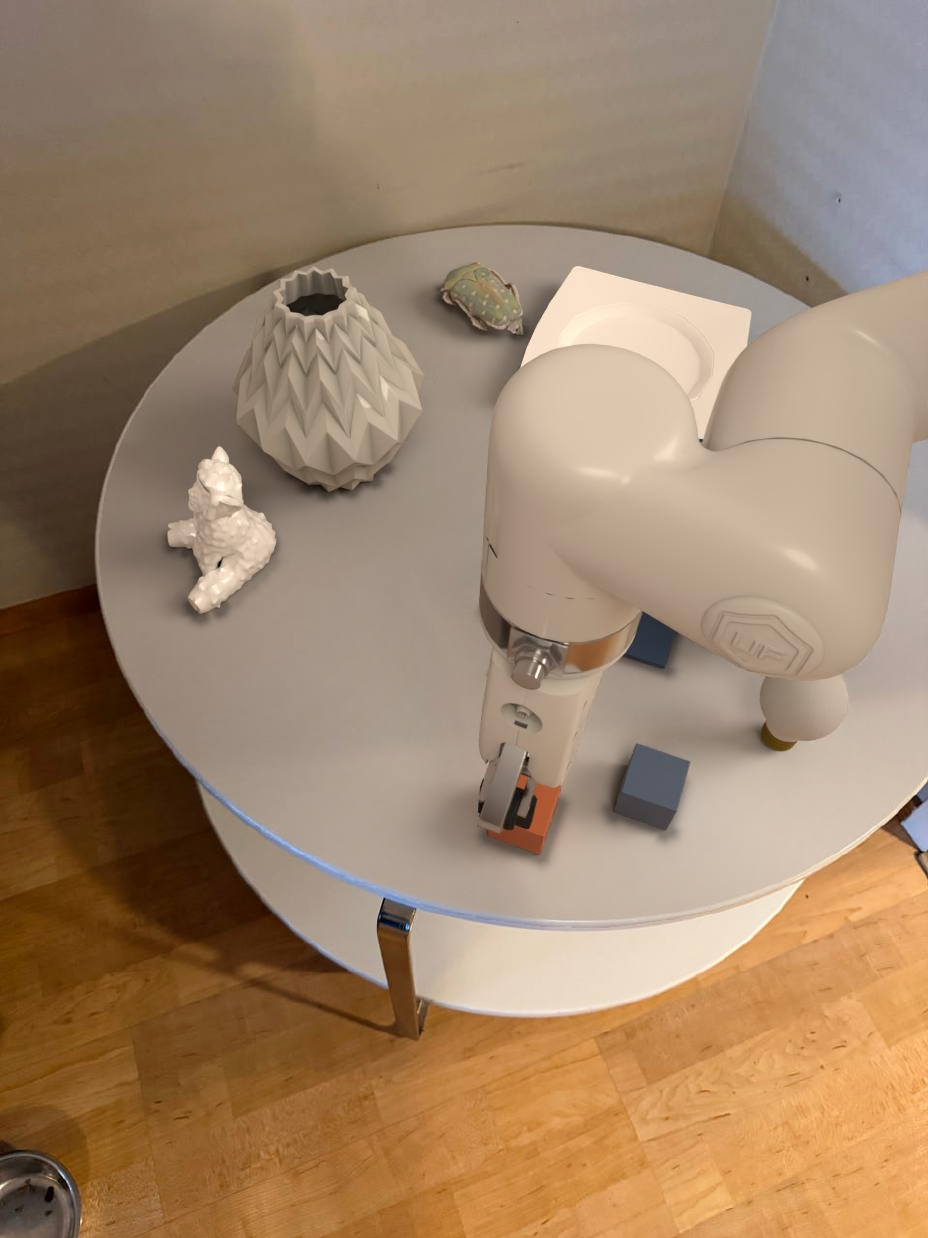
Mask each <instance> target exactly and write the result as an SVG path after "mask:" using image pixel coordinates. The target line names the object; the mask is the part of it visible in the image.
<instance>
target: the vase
mask: <svg viewBox="0 0 928 1238" xmlns="http://www.w3.org/2000/svg"><path fill="white" fill-rule="evenodd" d="M425 380H426V376H425V374H424V372H423V371H422V370H421V367H420V366H419V364H418V362H417V361H416V359H415V358H414V356H413V355H412V353H411V351H410V350H409V348H408V346H407V345H406V342H405V341H403V340H402V339H400V338H398V337H397V336H396V335H395V334H394V333H393V332H391V330H390V327H389V325H388V324H387V322H386V320H385V318H384V316H383V314H382V312H381V311H380V310H378V309H377V308H375V307H374V306H373V305H371V304H369V302H368V301H367V299H366V297H365V295H364V294H363V293H361V292H359V291H358V290H357V288H356V287H354V286H353V285H352V283H351V280H350V277H349V276H348V275H339V274H338V273H337V272H336V271H335V269H334V268H333V267H332V268H331V267H330V268H328V269H324V270H321V269H320V268H318V267H316V266H314V265H313V266H312V267H310V268H309V269H307V270H306V271H303V270H298V269H297V270H296V269H295V270H294V271H293V272H292V274H291V276H290V277H287V278H280V279H279V288H278V289H276V290H273V291H272V293H271V297H270V298H269V299H268V301H267V305H266V308H265V310H264V311H263V312H262V313H261V314H260V316H258V318H257V319H256V323H255V327H254V332H253V335H252V339H251V343H250V347H249V348H248V349H247V350H246V351H245V354H244V356H243V358H242V361H241V364H240V366H239V368H238V372H237V374H236V377H235V379H234V382H233V384H232V391H233V392H234V395H235V396H236V398H237V406H236V416H235V423H236V424H237V425H238V426H239V427H240V428H241V429H242V430H243V431H244V433H245V434H247V435H248V436H249V438H250V439H252V441H253V442H254V443H256V445H258V447H259V448H261V450H262V452H263V453H265V454H267V455H269V456H270V457H271V458H272V459H273V460H274V461H275V462H276V463H277V464H278V465H279V466H280V467H281V468H282V470H283V471H284V472H286V473H288V474H290V475H291V476H293V477H295V478H296V479H298V480H300V481H301V482H304V483H305V484H307V486H314V485H317V486H318V485H320V486H321V487H322V488H324V489H325V490H326V491H327V492H328V493H330V492H332V491H335V490H336V489H339V488H343V489H346V490H349V491H354V489H355V488H356V487H358V485H359V484H360V483H362V482H363V483H365V482H373V481H374V477H375V474H376V473H377V472H379V471H380V470H381V469H382V468H384V467H385V466H386V465H388V464H390V463H391V461H392V460H393V459H394V457H395V456H396V454H397V453H398V451H399V450H400V448H401V447H402V445H404V443H405V441H406V439H407V437H408V434H409V433H410V432H411V431H412V428H413V427H414V425H415V424H416V422H417V421H418V419H419V418H420V417H421V414H422V413H423V408H422V405H421V401H420V397H421V396H420V395H421V392H422V389H423V386H424V383H425Z"/></svg>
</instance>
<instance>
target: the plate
mask: <svg viewBox="0 0 928 1238" xmlns="http://www.w3.org/2000/svg"><path fill="white" fill-rule="evenodd" d="M752 314H753V313H752V311H751V310H750V309H749V308H745V307H741V306H737V305H732V304H728V303H725V302H721V301H717V300H712V299H709V298H704V297H702V296H701V297H700V296H697V295H696V296H695V295H693V294H689V293H685V292H681V291H678V290H674V289H669V288H666V287H661V286H658V285H653V284H650V283H646V282H642V281H637V280H634V279H629V278H626V277H622V276H618V275H614V274H611V273H607V272H603V271H600V270H597V269H592V268H588V267H584V266H580V265H577V266H573V268H572V269H571V271H570V272H569V274H568V275H567V276H566V278H565V279H564V281H563V283H561V285H560V286H559V288H558V289H557V291H556V293H555V294H554V296H553V298H552V299H551V300H550V301H549V303H548V305H547V306H546V309H545V311H544V312H543V314H542V316H541V317H540V319H539V321H538V323H537V324H536V326H535V329H534V331H533V333H532V335H531V338H530V340H529V342H528V344H527V346H526V349H525V351H524V355H523V358H522V361H521V364H520V366H519V367H520V368H521V367H522V366H524V365H525V364H526V363H528V362H529V361H531V360H532V359H534V358H536V357H537V356H539V355H541V354H543V353H546V352H548V351H551V350H553V349H557V348H561V347H566V346H572V345H578V344H599V345H610V346H614V347H619V348H623V349H627V350H629V351H632V352H635V353H638V354H640V355H642V356H644V357H646V358H648V359H650V360H652V361H654V362H655V363H657V364H658V365H659V366H661V367H662V368H664V369H665V370H666V371H667V372H668V373H669V374H670V375H671V376H673V377H674V378H675V380H676V381H677V382H678V383H679V385H680V386H681V387H682V389H683V390H684V391H685V393H686V394H687V396H688V398H689V400H690V403H691V405H692V407H693V410H694V414H695V419H696V424H697V429H698V438H699V441H700V443H702V442H703V438H704V434H705V431H706V427H707V424H708V421H709V418H710V415H711V412H712V409H713V406H714V403H715V400H716V397H717V394H718V392H719V389H720V386H721V383H722V381H723V379H724V377H725V375H726V373H727V371H728V369H729V368H730V367H731V365H732V364H733V363H734V361H735V360H736V358H737V357H738V356H739V354H740V353H741V352H742V351H743V350H744V349H745V348H746V347H747V346H748V342H749V341H748V340H749V335H750V334H749V333H750V327H751V321H752ZM520 368H519V369H520Z"/></svg>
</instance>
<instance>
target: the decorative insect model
mask: <svg viewBox="0 0 928 1238" xmlns="http://www.w3.org/2000/svg"><path fill="white" fill-rule="evenodd" d="M441 286H442V287H441V289H440V290H439V296H440V300H441V301H443V300H444V302H445V303H447V304H449V305H451V306H454V307H455V306H456V304H455V303H457V305H458V306H459V308H460V309H462V311H463V312H464V313H466V315H467V318H469V319H470V320H471V322H472V325H473V326H475V327H476V328H478V329H480V330H482V331H484V332H488V326H489V327H491V328H493V329H496V330H505V329H506V328H507V330H508V331H509V332H511V333H512V334H513V335H514V334H516V335H518V336H521V335H524V334H525V333H524V326H523V318H522V316H523V313H524V311H523V308H522V305H521V302H520V295H519V292H518V289H517V287H516V285H515V284H513V283H512V282H509V283H508V282H506V281H505V279H504V277H502V274H501V273H499V272H498V271H496V270H495V269H492V268H489V267H488V268H487V267H485V265H484V264H482V262H479V261H475V262H473V263H470V264H468V265H463V266H460V267H457V268H454V269H452V270H450V271H448V273H447V274H446V276H445V278H444V279H443V283H442V285H441Z"/></svg>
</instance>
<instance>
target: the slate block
mask: <svg viewBox="0 0 928 1238" xmlns="http://www.w3.org/2000/svg"><path fill="white" fill-rule="evenodd" d="M690 765H691V761H690V760H687V759H684V758H681V757H678V756H676V755H672V754H669V753H667V752H665V751H661V750H658V749H655V748H652V747H650V746H646V745H643V744H640V743H635V746H634V748H633V751H632V752H631V755H630V758H629V761H628V764H627V766H626V769H625V772H624V775H623V779H622V783H621V786H620V789H619V793H618V794H617V795H618V796H617V798H616V802H615V805H614V808H613V812H614V813H616V814H617V815H621V816H624V817H627V818H630V819H633V820H635V821H638V822H641V823H644V824H647V825H649V826H652V827H655V828H658V829H661V830H663V831H667V830H668V828H669V827H670V824H671V823H672V821H673V819H674V817H675V816H676V814H677V812H678V809H679V805H680V801H681V798H682V795H683V791H684V788H685V784H686V780H687V776H688V774H689V773H688V772H689V769H690Z"/></svg>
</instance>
